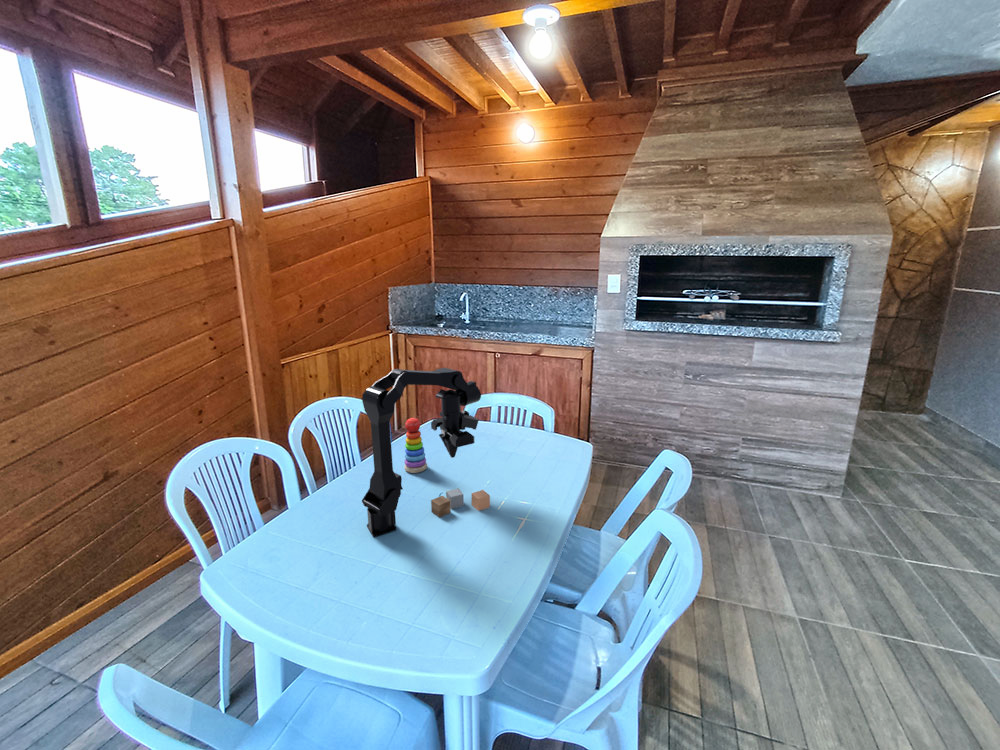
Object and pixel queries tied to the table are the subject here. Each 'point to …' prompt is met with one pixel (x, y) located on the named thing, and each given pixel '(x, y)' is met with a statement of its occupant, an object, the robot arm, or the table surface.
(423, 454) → the stacking toy
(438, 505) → the walnut cube
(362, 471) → the table surface
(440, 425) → the robot arm
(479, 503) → the terracotta block
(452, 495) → the slate block
